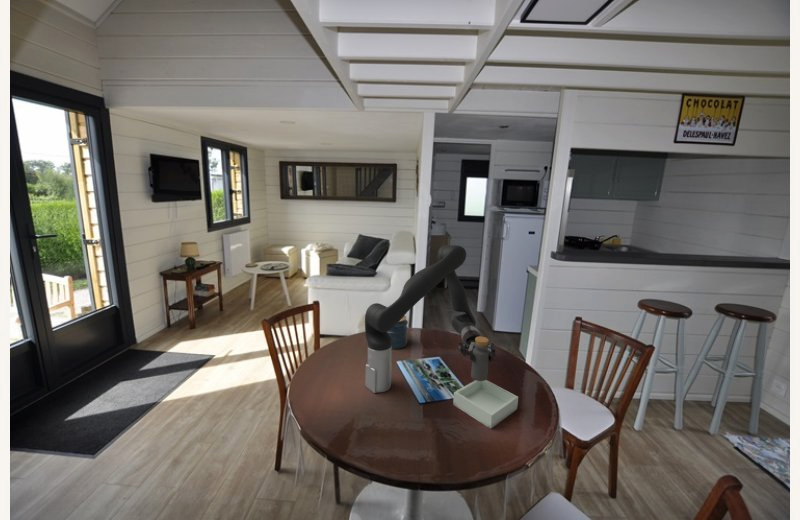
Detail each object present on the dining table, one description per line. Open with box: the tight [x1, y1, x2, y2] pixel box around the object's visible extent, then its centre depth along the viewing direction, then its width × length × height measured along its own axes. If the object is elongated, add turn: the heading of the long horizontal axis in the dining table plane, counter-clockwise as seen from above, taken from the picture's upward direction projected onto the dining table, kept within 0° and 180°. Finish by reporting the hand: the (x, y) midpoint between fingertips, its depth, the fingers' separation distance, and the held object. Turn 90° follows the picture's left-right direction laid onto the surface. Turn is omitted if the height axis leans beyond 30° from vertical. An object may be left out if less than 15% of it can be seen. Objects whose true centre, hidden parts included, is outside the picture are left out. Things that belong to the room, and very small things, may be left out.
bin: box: [452, 379, 519, 430], centre depth 118 cm, size 16×16×5 cm
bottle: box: [470, 335, 490, 381], centre depth 119 cm, size 6×6×15 cm
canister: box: [388, 314, 409, 350], centre depth 165 cm, size 13×13×18 cm
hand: (482, 359), depth 117 cm, fingers closed on bottle, 5 cm apart
